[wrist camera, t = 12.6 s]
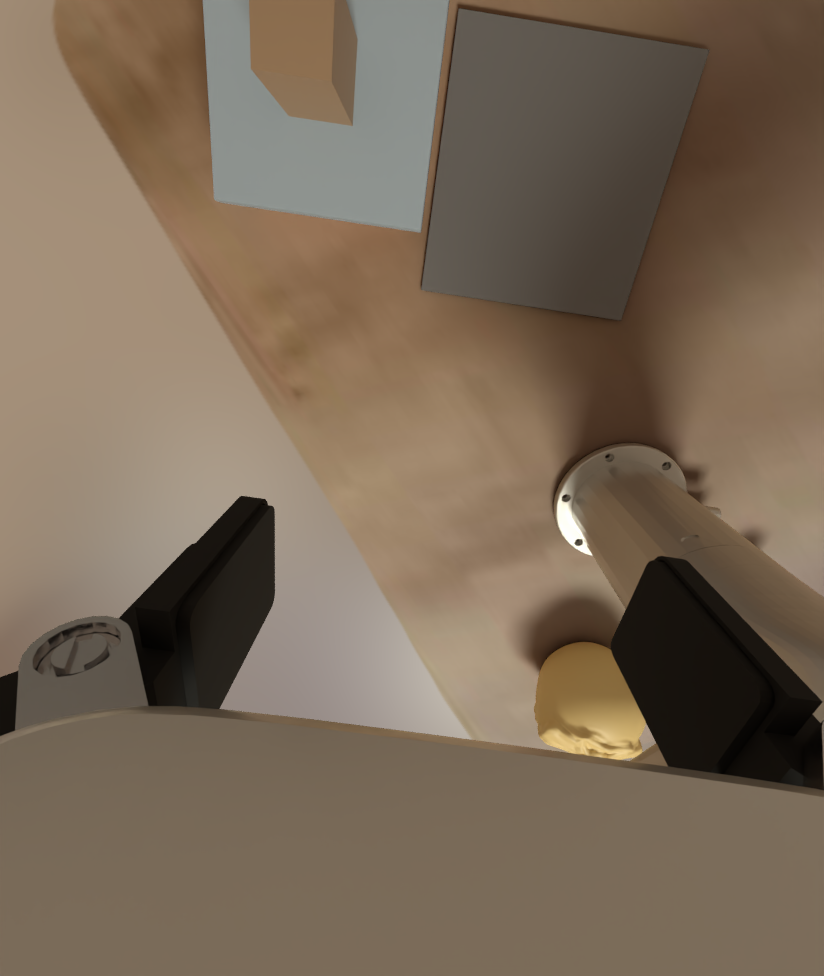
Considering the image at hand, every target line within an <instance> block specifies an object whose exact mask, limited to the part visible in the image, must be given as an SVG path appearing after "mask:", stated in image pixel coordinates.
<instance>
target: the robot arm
mask: <svg viewBox="0 0 824 976" xmlns="http://www.w3.org/2000/svg"><path fill="white" fill-rule="evenodd" d="M607 454H608V456H606V455H607ZM605 456H606V457H605ZM565 494H566V495H565ZM563 495H565V496H563ZM553 508H554V518H555V521H556V524H557V527H558V529H559V531H560V533H561V534H562V536H563V537H564V538H565V540H566V541H567V542H568V543H569V544H570V545H571V546H572V547H573V548H575V549H577V550H578V551H580V552H582V553H584V554H587V555H590V556H593V557H594V558H595V560H596V562H597V563H598V565H599V566H600V568H601V570H602V571H603V573H604V575H605V576H606V578H607V579H608V581H609V583H610V584H611V586H612V588H613V589H614V591H615V592H616V594H617V596H618V597H619V599H620V601H621V602H622V604H623V605H624V607H625V609H626V611H625V613H624V615H623V617H622V619H621V621H620V624H619V626H618V628H617V630H616V632H615V635H614V637H613V639H612V642H611V651H612V655H613V657H614V659H615V661H616V663H617V665H618V667H619V669H620V671H621V673H622V675H623V677H624V679H625V681H626V683H627V685H628V687H629V689H630V691H631V693H632V695H633V697H634V699H635V701H636V703H637V705H638V707H639V709H640V711H641V713H642V715H643V717H644V719H645V721H646V723H647V725H648V727H649V729H650V731H651V733H652V735H653V737H654V739H655V741H656V744H654V745H653V746H651V747H650V748H648V749H647V750H645V751H644V752H642V753H641V754H639V755H638V756H636V757H635V758H633V759H632V760H631V761H624V760H617V759H610V758H603V757H595V756H588V755H581V754H573V753H566V752H558V751H551V750H544V749H536V748H529V747H521V746H514V745H506V744H499V743H491V742H484V741H476V740H469V739H461V738H454V737H446V736H439V735H431V734H423V733H414V732H407V731H399V730H391V729H384V728H376V727H367V726H360V725H352V724H344V723H337V722H329V721H321V720H314V719H305V718H296V717H287V716H278V715H269V714H260V713H251V712H242V711H233V710H224V709H219V708H220V706H221V704H222V703H223V700H224V699H225V696H226V695H227V693H228V691H229V689H230V687H231V685H232V683H233V681H234V679H235V677H236V675H237V673H238V671H239V669H240V668H241V666H242V664H243V662H244V660H245V658H246V656H247V654H248V652H249V650H250V648H251V646H252V644H253V642H254V640H255V638H256V636H257V635H258V633H259V631H260V629H261V627H262V625H263V623H264V621H265V619H266V617H267V615H268V613H269V611H270V609H271V607H272V604H273V601H274V595H275V552H274V551H275V546H274V545H275V544H274V543H275V533H274V532H275V531H274V530H275V527H274V526H275V523H274V522H275V521H274V520H275V519H274V518H275V516H274V507H273V506H268V504H267V501H266V500H265V499H260V498H252V497H245V496H241V497H239V498H238V499H237V500H236V501H235V503H234V504H233V505H232V506H231V507H230V508H229V509H228V510H227V511H226V512H225V513H224V514H223V515H222V516H221V517H220V518H219V519H218V520H217V521H216V523H214V524H213V526H212V527H211V528H210V529H209V530H208V531H207V532H206V533H205V534H204V535H203V536H202V537H201V538H200V539H199V540H198V541H197V543H195V544H192V545H190V546H189V547H188V548H186V550H185V551H184V552H183V553H182V554H181V555H180V556H179V557H178V558H177V559H176V560H175V561H174V562H173V563H172V564H171V565H170V566H169V567H168V568H167V569H166V570H165V571H164V572H163V573H162V574H161V575H160V576H159V577H158V578H157V579H156V580H155V581H154V583H153V584H152V585H151V586H150V587H149V588H148V589H147V590H146V591H145V592H144V593H143V594H142V595H141V596H140V597H139V598H138V599H137V600H136V601H135V602H134V603H133V604H132V605H131V606H130V607H129V608H128V609H127V610H126V611H125V612H124V613H123V615H122V616H121V617H120V618H114V617H109V616H92V617H87V618H82V619H77V620H74V621H71V622H68V623H65V624H63V625H60V626H58V627H56V628H54V629H52V630H51V631H49V632H47V633H45V634H43V635H42V636H41V637H40V638H38V639H37V640H36V641H35V642H33V643H32V644H31V645H30V646H29V648H28V649H27V650H26V651H25V652H24V654H23V655H22V658H21V661H20V664H19V670H18V671H17V672H14V673H11V674H8V675H5V676H3V677H0V976H824V597H823V596H821V595H820V594H818V593H817V592H816V591H814V590H813V589H812V588H810V587H809V586H807V585H806V584H805V583H803V582H802V581H800V580H799V579H798V578H796V577H795V576H794V575H792V574H791V573H790V572H788V571H787V570H786V569H785V568H783V567H782V566H781V565H779V564H778V563H777V562H776V561H774V560H773V559H772V558H770V557H769V556H768V555H766V554H765V553H764V552H763V551H761V550H760V549H759V548H757V547H756V546H755V545H754V544H752V543H751V542H750V541H748V540H747V539H746V538H745V537H743V536H742V535H741V534H739V533H738V532H737V531H736V530H734V529H733V528H732V527H730V526H729V525H728V524H727V523H725V522H724V521H723V520H721V519H720V517H721V511H720V509H719V508H715V507H708V506H703V505H702V504H701V503H700V502H698V501H697V500H696V499H694V498H693V497H692V496H691V495H689V494H688V493H687V485H686V479H685V477H684V475H683V472H682V470H681V469H680V467H679V466H678V465H677V463H676V462H675V461H674V460H673V459H671V458H670V457H669V456H668V455H666V454H665V453H663V452H661V451H660V450H658V449H656V448H653V447H651V446H648V445H644V444H637V443H620V444H615V445H610V446H606V447H604V448H601V449H599V450H596V451H594V452H592V453H590V454H589V455H587V456H585V457H584V458H582V459H581V460H580V461H579V462H577V463H576V464H575V465H574V466H573V467H572V468H571V469H570V470H569V471H568V472H567V474H566V475H565V476H564V478H563V479H562V481H561V483H560V484H559V487H558V489H557V492H556V495H555V499H554V506H553Z"/></svg>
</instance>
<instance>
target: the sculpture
mask: <svg viewBox="0 0 824 976" xmlns="http://www.w3.org/2000/svg"><path fill="white" fill-rule="evenodd" d="M534 712H535V719H536V721H537V723H538V734H539V737H540V738H541V739H542V740H543V741H544V742H545V743H546V744H548V745H551V746H553V747H556V748H559V749H562V750H565V751H567V752H569V753H573V754H581V755H588V756H595V757H603V758H610V759H617V760H622V759H627V758H632V757H636V756H638V755H639V754H641V753H642V746H641V743H640V740H639V737H640V736H641V734H642V732H643V730H644V727H645V724H646V721H645V719H644V717H643V715H642V713H641V711H640V709H639V707H638V705H637V703H636V701H635V699H634V697H633V695H632V693H631V691H630V689H629V687H628V685H627V683H626V681H625V679H624V677H623V675H622V673H621V671H620V669H619V667H618V665H617V663H616V661H615V659H614V657H613V655H612V651H611V649H609V648H607V647H605V646H602V645H599V644H596V643H591V642H578V643H572V644H569V645H566V646H564V647H561V648H560V649H558V650H556V651H555V652H553V653H552V654H551V655H550V656H549V657H548V658H547V659H546V660H545V662H544V664H543V665H542V668H541V670H540V673H539V677H538V683H537V690H536V703H535V706H534Z"/></svg>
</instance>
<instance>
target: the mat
mask: <svg viewBox="0 0 824 976" xmlns="http://www.w3.org/2000/svg"><path fill="white" fill-rule="evenodd" d="M708 53H709V50H708V49H702V48H696V47H690V46H684V45H678V44H672V43H666V42H660V41H654V40H647V39H641V38H635V37H629V36H623V35H617V34H611V33H605V32H599V31H593V30H587V29H581V28H575V27H569V26H563V25H557V24H551V23H545V22H539V21H532V20H526V19H520V18H514V17H508V16H502V15H496V14H490V13H484V12H478V11H472V10H466V9H460V8H459V11H458V18H457V26H456V33H455V41H454V48H453V56H452V63H451V71H450V78H449V86H448V93H447V101H446V108H445V116H444V123H443V131H442V138H441V146H440V153H439V161H438V168H437V176H436V183H435V191H434V198H433V206H432V213H431V221H430V228H429V236H428V243H427V251H426V258H425V266H424V273H423V281H422V288H421V290H424V291H431V292H438V293H444V294H451V295H457V296H464V297H470V298H477V299H483V300H490V301H496V302H503V303H509V304H516V305H523V306H529V307H536V308H542V309H549V310H555V311H562V312H568V313H575V314H581V315H588V316H594V317H601V318H608V319H614V320H621V319H622V316H623V313H624V310H625V307H626V304H627V300H628V297H629V294H630V291H631V288H632V285H633V282H634V279H635V276H636V273H637V270H638V267H639V264H640V261H641V258H642V255H643V252H644V249H645V246H646V242H647V239H648V236H649V233H650V230H651V227H652V224H653V221H654V218H655V215H656V212H657V209H658V206H659V203H660V200H661V197H662V194H663V191H664V188H665V185H666V181H667V178H668V175H669V172H670V169H671V166H672V163H673V160H674V157H675V154H676V151H677V148H678V145H679V142H680V139H681V136H682V133H683V130H684V127H685V123H686V120H687V117H688V114H689V111H690V108H691V105H692V102H693V99H694V96H695V93H696V90H697V87H698V84H699V81H700V78H701V75H702V72H703V69H704V65H705V62H706V59H707V56H708Z"/></svg>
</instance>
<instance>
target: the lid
mask: <svg viewBox="0 0 824 976" xmlns="http://www.w3.org/2000/svg"><path fill="white" fill-rule="evenodd" d="M448 9H449V0H203V12H204V30H205V47H206V65H207V82H208V99H209V117H210V134H211V152H212V169H213V186H214V200H216V201H218V202H221V203H226V204H233V205H240V206H246V207H253V208H260V209H266V210H273V211H280V212H286V213H293V214H300V215H306V216H313V217H319V218H326V219H333V220H339V221H346V222H353V223H359V224H366V225H373V226H379V227H386V228H393V229H399V230H406V231H413V232H419V233H421V229H422V221H423V212H424V204H425V196H426V188H427V180H428V172H429V163H430V155H431V147H432V139H433V131H434V123H435V115H436V106H437V98H438V90H439V82H440V74H441V66H442V57H443V49H444V41H445V33H446V25H447V17H448Z"/></svg>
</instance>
